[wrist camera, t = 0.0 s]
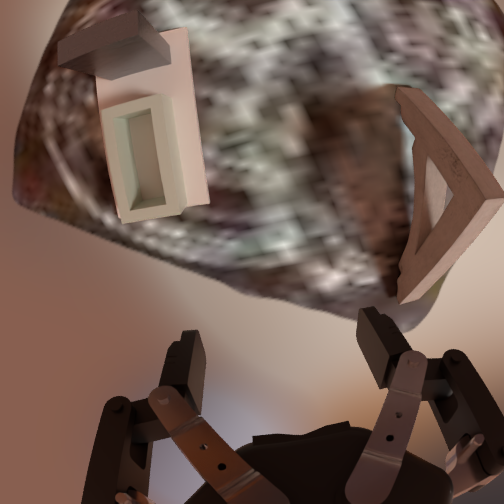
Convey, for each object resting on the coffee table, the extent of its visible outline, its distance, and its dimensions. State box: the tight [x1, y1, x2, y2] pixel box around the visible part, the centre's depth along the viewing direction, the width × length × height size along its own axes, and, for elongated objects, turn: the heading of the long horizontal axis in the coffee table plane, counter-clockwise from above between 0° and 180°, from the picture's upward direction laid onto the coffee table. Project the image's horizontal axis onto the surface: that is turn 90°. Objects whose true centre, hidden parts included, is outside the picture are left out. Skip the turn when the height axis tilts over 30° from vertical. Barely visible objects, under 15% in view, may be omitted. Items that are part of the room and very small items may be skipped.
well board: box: [96, 27, 210, 224], centre depth 32 cm, size 26×14×6 cm, turn 6°
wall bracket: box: [395, 87, 504, 304], centre depth 40 cm, size 22×4×30 cm
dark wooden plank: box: [58, 10, 172, 81], centre depth 24 cm, size 9×3×14 cm, turn 97°
